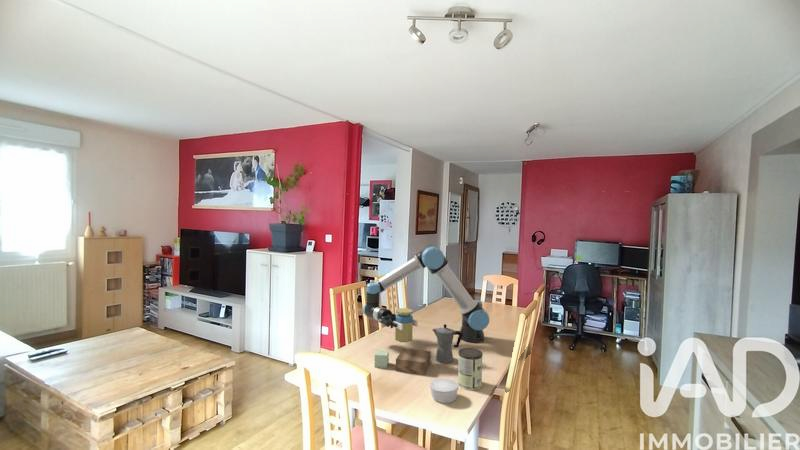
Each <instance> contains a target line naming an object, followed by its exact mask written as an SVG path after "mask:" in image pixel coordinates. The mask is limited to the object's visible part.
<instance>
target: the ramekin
mask: <svg viewBox="0 0 800 450" xmlns="http://www.w3.org/2000/svg"><path fill="white" fill-rule="evenodd" d="M429 389H430V394H431V397H432V399H433V400H434V401H436V402H437V403H441V404H450V403H453V402H454V401H455V400H456V399H457V395H458V390H459V385H458V382H456V381H454V380H453V379H449V378H436V379H434V380H431V381H430V383H429Z"/></svg>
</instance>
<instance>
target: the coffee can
mask: <svg viewBox="0 0 800 450" xmlns="http://www.w3.org/2000/svg"><path fill="white" fill-rule="evenodd" d="M457 354H458V356H457V357H458V359H457V361H458V365H457V367H458V372H457V375H458V376H457V384H458V387H459V388H461V389H464V390H467V391H468V390H469V391H477V390H480V389H481V388H482V386H483V384H482V383H483V382H482V381H483V352H482V351H481V350H479V349H476V348H473V347H463V348H460V349H458V352H457Z"/></svg>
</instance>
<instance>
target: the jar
mask: <svg viewBox="0 0 800 450" xmlns="http://www.w3.org/2000/svg"><path fill="white" fill-rule="evenodd" d="M395 311H396V312H395V313H396V322H398V323H401V324H403V330H400V329H398V328H395V327H394V328H395V330H394V331H395V332H394V334H395V335H394V337H395V338H394V339H395V341H396V342H399V343H409V342H411V341H413V331H414V330H413V320H414V318H413V317H414V316H413V309H411V308H407V307H406V308H397V309H396V310H395Z"/></svg>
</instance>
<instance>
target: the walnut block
mask: <svg viewBox="0 0 800 450" xmlns="http://www.w3.org/2000/svg"><path fill="white" fill-rule="evenodd" d="M430 365H431V350H430V351H429V350H421V349H413V348H402V349H401V351H400V352H399V354H398V355H397V357H396V359H395V371H396V372H401V373H408V374H416V375H424V376H425V375H426V374H427V372H428V370H429V367H430Z"/></svg>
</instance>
